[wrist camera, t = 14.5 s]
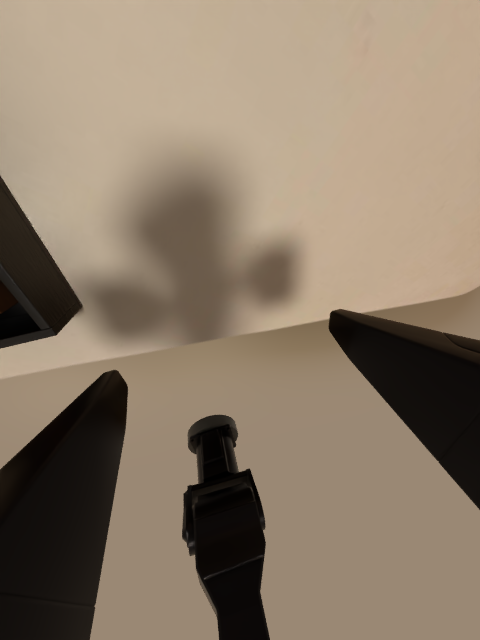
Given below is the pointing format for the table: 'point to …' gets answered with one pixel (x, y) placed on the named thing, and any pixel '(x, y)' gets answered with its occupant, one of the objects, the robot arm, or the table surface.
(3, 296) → the red pad with bar
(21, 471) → the robot arm
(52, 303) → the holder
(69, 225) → the table surface
